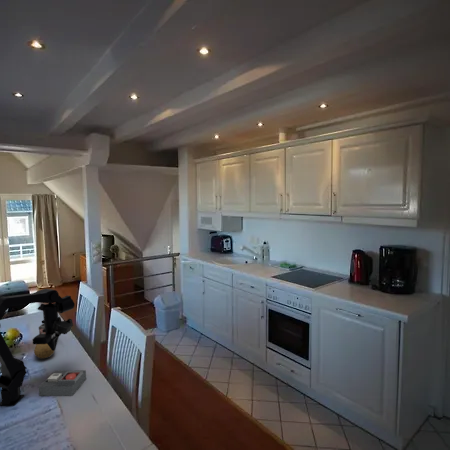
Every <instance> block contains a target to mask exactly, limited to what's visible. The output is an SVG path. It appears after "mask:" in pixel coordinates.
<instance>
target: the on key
mask: <svg viewBox="0 0 450 450" xmlns="http://www.w3.org/2000/svg"><path fill="white" fill-rule="evenodd" d="M51 374H52V373H51ZM51 374H50V375H51ZM50 375H49V376H50ZM49 376H48V377H49ZM48 377H47V378H48ZM61 377H62V373H61V374H52V375H51V376H50V377H49V378H48V382H58V381H59V380H60V378H61Z"/></svg>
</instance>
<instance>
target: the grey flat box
mask: <svg viewBox="0 0 450 450" xmlns="http://www.w3.org/2000/svg"><path fill="white" fill-rule="evenodd" d="M61 373H62V377H61V378H60V380H59V381H58V382H48V378H49V377H50V376H51V375H52V374H61ZM71 373H75V374H76V378H75V379H74V380H66V376H67V375H68V374H71ZM86 380H87V371H86V369H85V370H83V369H82V370H78V369H77V370H54V371H53V372H52V373H51V374H50V375H49V376H48V377H46V379H45V380H44V381H43V382H42V383H41V384H39V386H37V387H38V397H62V396H63V397H67V396H70V397H71V396H72V397H73V396H74V394H76V392H77V391H78V390H79V389H80V387H81V386H82V385H83V384H84V382H85V381H86Z"/></svg>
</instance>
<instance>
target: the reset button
mask: <svg viewBox="0 0 450 450" xmlns="http://www.w3.org/2000/svg"><path fill="white" fill-rule="evenodd" d="M75 378H76V374H75V373H71V374H68V375H67V376H66V380H74V379H75Z"/></svg>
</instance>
